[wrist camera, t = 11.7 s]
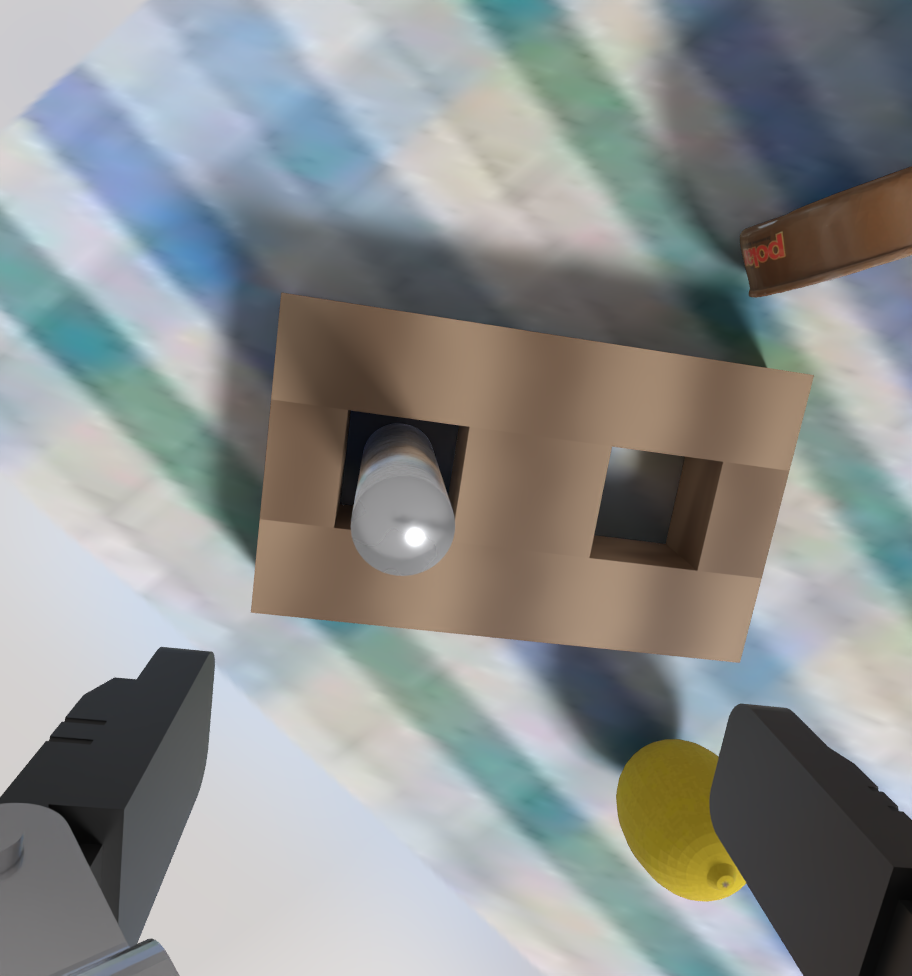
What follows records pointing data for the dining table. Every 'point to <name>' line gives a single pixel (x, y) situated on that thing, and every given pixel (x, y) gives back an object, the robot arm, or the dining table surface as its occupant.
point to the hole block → (526, 481)
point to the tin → (831, 236)
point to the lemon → (675, 820)
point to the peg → (401, 503)
